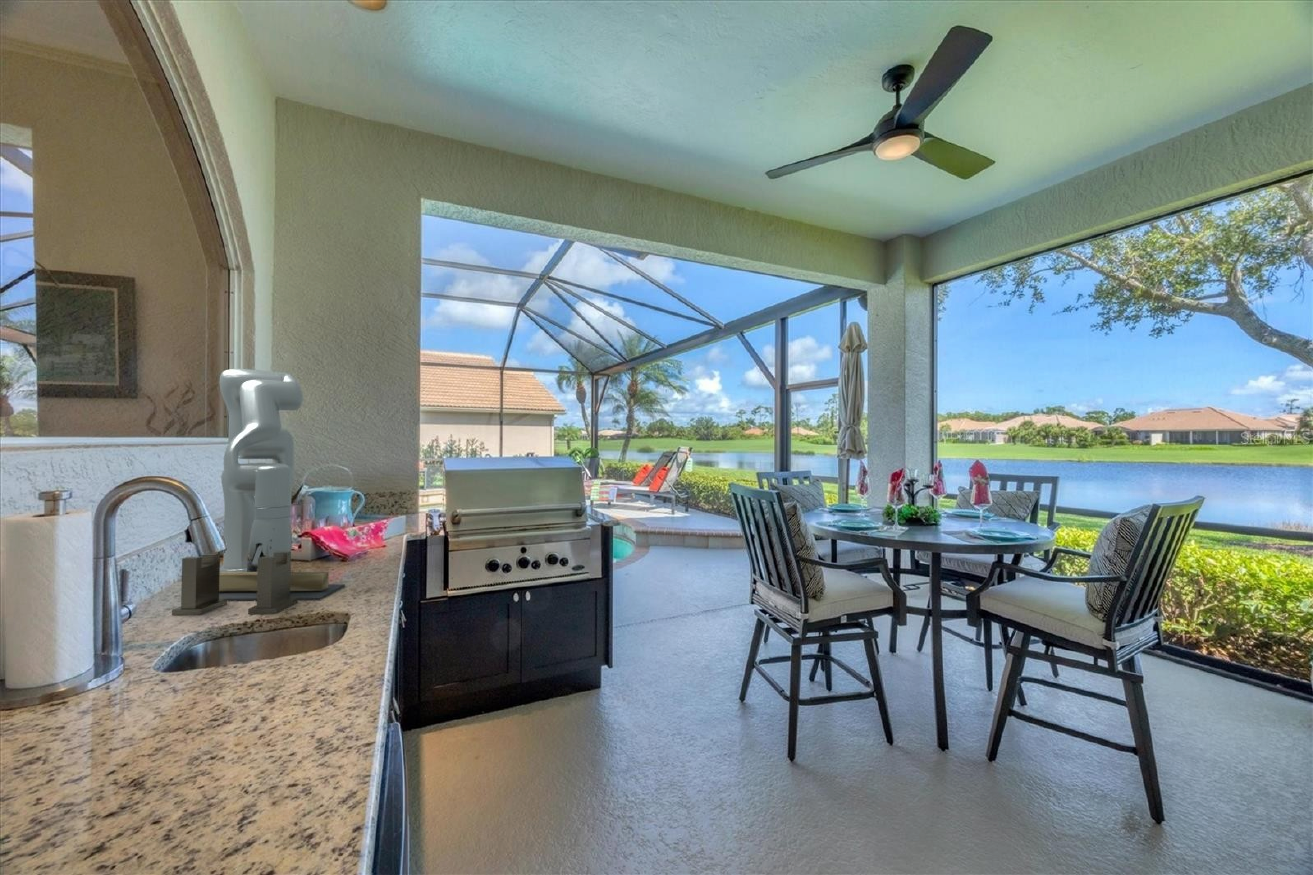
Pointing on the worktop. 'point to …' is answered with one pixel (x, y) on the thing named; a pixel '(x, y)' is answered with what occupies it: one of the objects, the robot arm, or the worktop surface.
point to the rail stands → (204, 585)
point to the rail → (297, 581)
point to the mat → (293, 594)
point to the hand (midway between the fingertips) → (271, 585)
